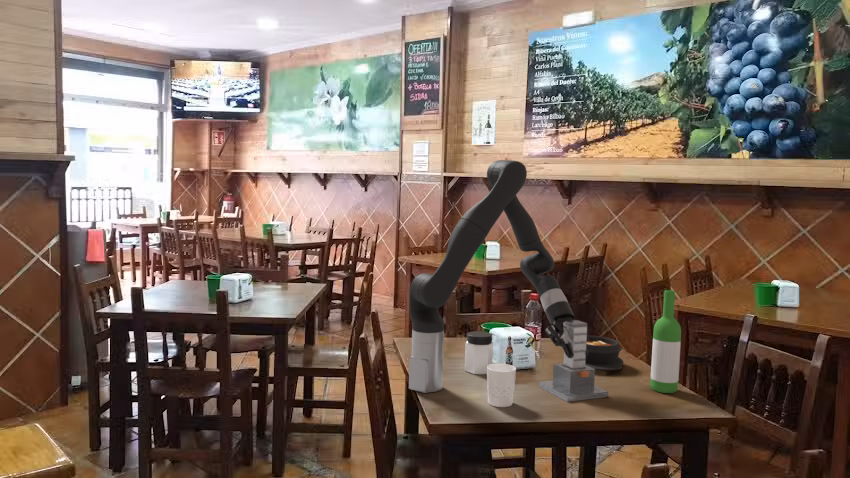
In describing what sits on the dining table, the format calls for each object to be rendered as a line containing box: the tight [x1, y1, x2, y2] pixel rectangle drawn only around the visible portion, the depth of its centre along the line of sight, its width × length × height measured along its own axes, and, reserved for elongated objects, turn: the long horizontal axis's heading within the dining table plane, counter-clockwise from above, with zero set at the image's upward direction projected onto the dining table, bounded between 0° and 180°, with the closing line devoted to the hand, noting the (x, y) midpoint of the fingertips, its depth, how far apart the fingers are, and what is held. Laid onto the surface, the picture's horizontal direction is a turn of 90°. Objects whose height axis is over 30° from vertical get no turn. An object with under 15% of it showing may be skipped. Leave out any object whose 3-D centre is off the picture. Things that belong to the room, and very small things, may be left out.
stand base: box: [538, 362, 609, 403], centre depth 185 cm, size 14×14×8 cm
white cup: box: [486, 363, 517, 408], centre depth 173 cm, size 8×8×10 cm
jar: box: [464, 330, 494, 375], centre depth 203 cm, size 9×8×12 cm
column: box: [562, 319, 588, 370], centre depth 184 cm, size 5×5×19 cm
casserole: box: [585, 335, 624, 371], centre depth 214 cm, size 25×19×8 cm
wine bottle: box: [649, 289, 682, 394], centre depth 188 cm, size 8×8×30 cm
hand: (578, 356), depth 182 cm, fingers closed on column, 4 cm apart
